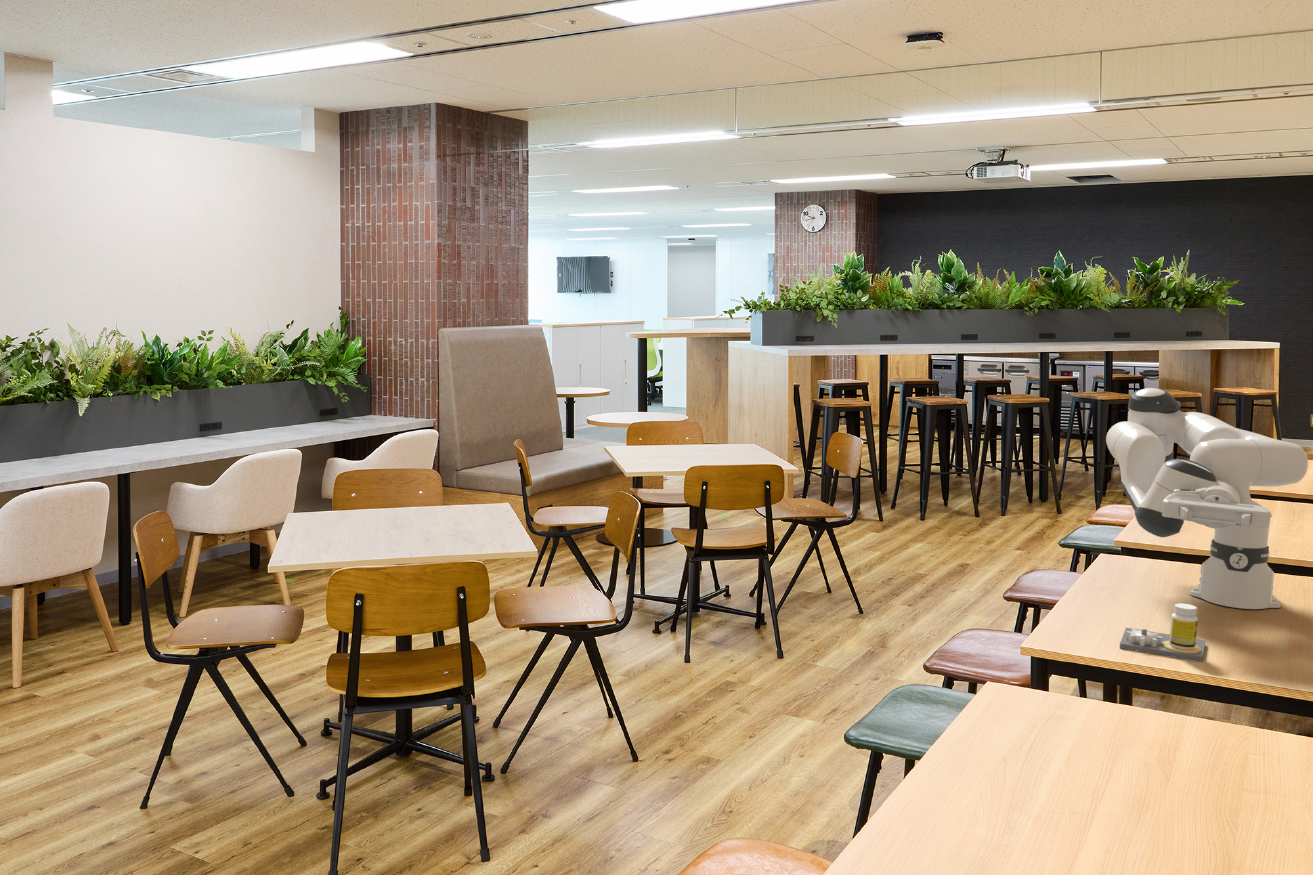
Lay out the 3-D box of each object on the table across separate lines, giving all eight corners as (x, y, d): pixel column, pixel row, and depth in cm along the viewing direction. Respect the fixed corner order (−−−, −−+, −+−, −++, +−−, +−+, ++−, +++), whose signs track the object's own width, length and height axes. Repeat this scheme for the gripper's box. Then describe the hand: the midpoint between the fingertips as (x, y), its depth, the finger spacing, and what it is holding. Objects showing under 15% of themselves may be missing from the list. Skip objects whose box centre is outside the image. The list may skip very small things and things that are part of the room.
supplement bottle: (1198, 651, 203) (1202, 610, 201) (1173, 649, 203) (1176, 608, 202) (1190, 643, 207) (1194, 603, 206) (1165, 641, 208) (1169, 601, 207)
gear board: (1125, 631, 218) (1127, 616, 217) (1204, 644, 211) (1206, 628, 210) (1119, 647, 208) (1121, 631, 207) (1202, 662, 200) (1204, 645, 200)
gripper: (1269, 527, 218) (1270, 540, 206) (1163, 515, 228) (1158, 526, 216) (1273, 499, 217) (1273, 509, 205) (1166, 488, 227) (1161, 497, 215)
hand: (1213, 518), depth 211 cm, fingers open, 8 cm apart
